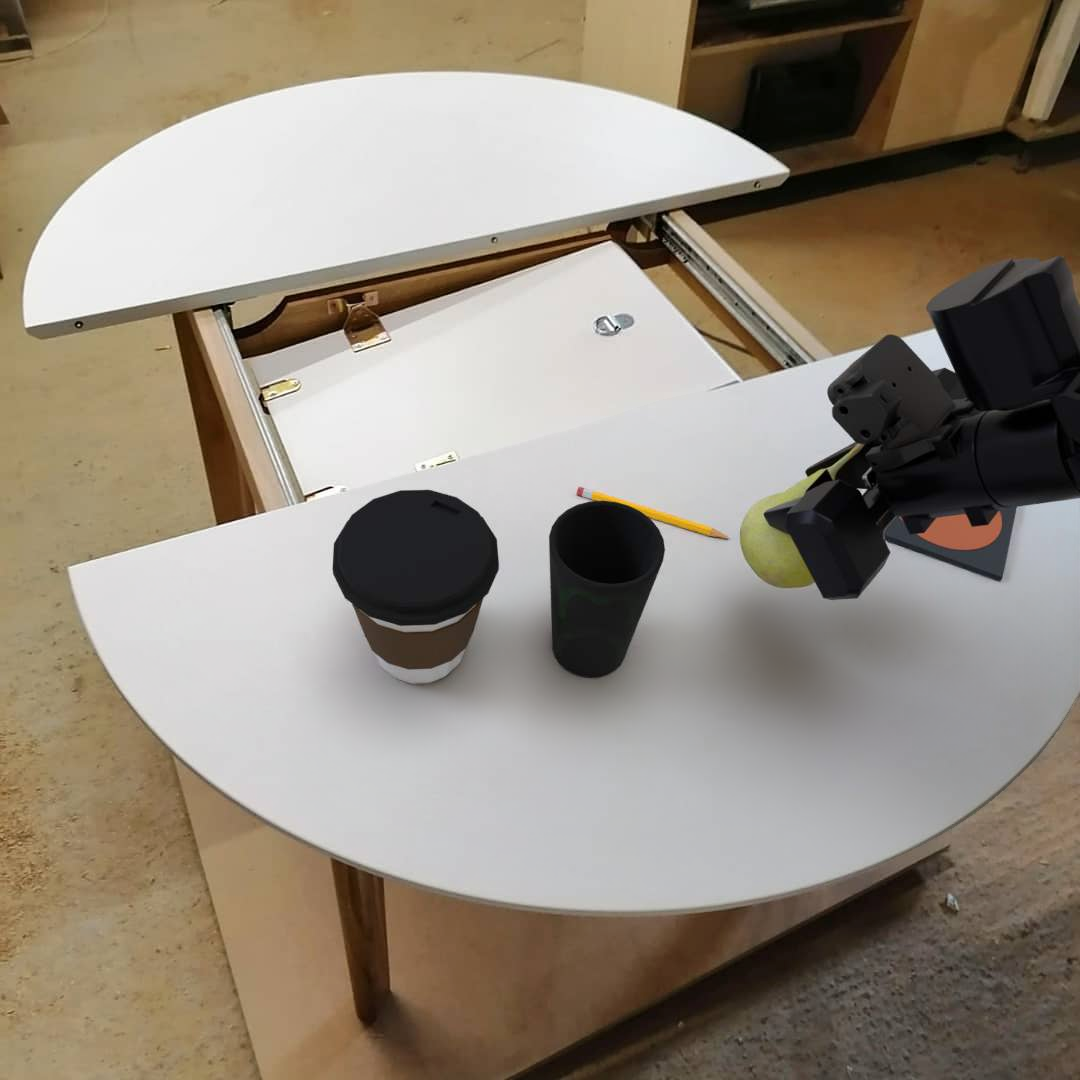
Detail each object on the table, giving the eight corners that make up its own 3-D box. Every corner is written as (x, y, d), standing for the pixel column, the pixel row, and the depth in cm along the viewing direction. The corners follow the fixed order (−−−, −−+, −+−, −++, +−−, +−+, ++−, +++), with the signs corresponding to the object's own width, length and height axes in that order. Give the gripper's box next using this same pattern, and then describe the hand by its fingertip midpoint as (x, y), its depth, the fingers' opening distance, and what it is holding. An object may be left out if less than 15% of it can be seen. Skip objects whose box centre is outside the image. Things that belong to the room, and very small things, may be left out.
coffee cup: (399, 570, 79) (392, 461, 70) (521, 629, 76) (530, 523, 67) (314, 670, 72) (294, 564, 63) (443, 739, 69) (442, 638, 60)
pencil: (578, 490, 86) (579, 484, 85) (731, 537, 84) (732, 532, 83) (575, 496, 85) (576, 490, 85) (728, 544, 83) (730, 538, 83)
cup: (641, 612, 78) (666, 506, 69) (638, 696, 73) (664, 594, 64) (542, 600, 78) (554, 493, 69) (532, 683, 73) (543, 579, 64)
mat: (1017, 495, 89) (1020, 490, 88) (1000, 581, 82) (1003, 576, 82) (894, 453, 91) (896, 448, 91) (867, 534, 85) (870, 528, 84)
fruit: (714, 556, 75) (745, 439, 65) (792, 519, 77) (833, 402, 68) (772, 620, 71) (813, 506, 62) (852, 579, 74) (903, 464, 64)
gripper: (1013, 264, 60) (805, 334, 73) (865, 415, 50) (655, 466, 63) (1081, 424, 63) (870, 465, 75) (954, 597, 53) (735, 611, 66)
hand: (788, 496), depth 70 cm, fingers closed on fruit, 5 cm apart
